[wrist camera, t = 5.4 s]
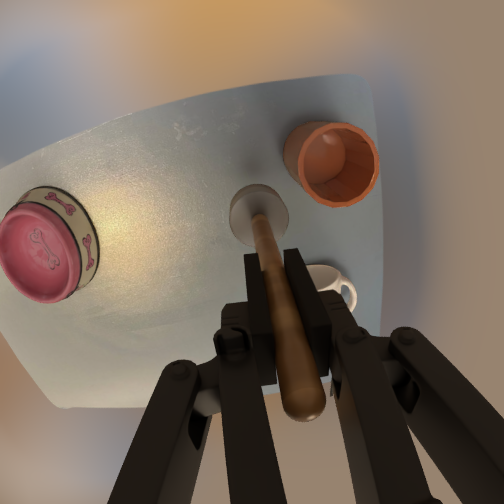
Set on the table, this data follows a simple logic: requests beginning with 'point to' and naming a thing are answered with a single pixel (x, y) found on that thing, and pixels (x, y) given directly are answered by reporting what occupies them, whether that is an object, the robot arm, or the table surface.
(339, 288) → the mug
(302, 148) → the crock
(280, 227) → the toilet plunger
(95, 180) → the table surface
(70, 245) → the dog bowl
